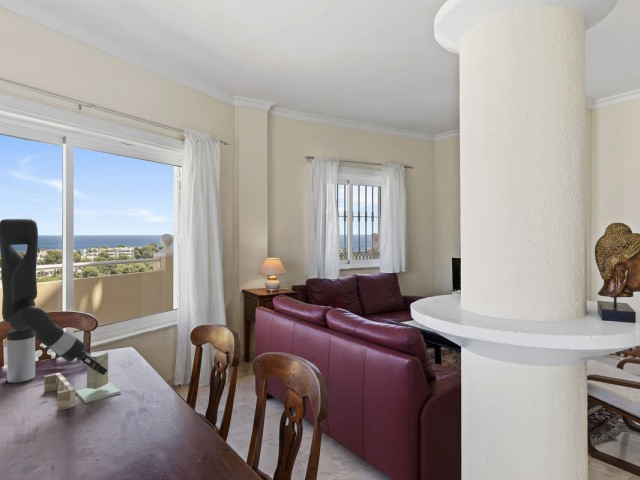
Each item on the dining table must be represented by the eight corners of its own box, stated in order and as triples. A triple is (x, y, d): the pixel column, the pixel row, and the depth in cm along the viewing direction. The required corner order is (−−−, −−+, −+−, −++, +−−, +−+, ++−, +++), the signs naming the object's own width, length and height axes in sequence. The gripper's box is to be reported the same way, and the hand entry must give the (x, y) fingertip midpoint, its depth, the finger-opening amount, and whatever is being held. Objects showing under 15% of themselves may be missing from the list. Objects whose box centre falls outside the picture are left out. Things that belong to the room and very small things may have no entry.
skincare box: (96, 389, 144) (96, 357, 144) (85, 388, 145) (86, 356, 145) (108, 383, 150) (108, 352, 150) (98, 382, 151) (98, 351, 151)
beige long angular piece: (44, 391, 149) (44, 375, 149) (59, 387, 153) (59, 372, 153) (58, 410, 134) (58, 393, 134) (75, 406, 137) (75, 389, 137)
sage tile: (75, 393, 148) (75, 390, 148) (109, 384, 157) (109, 382, 156) (84, 403, 140) (84, 400, 140) (120, 393, 148) (120, 390, 148)
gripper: (80, 340, 137) (116, 366, 146) (69, 333, 147) (103, 357, 156) (62, 359, 133) (100, 384, 142) (53, 350, 144) (88, 374, 152)
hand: (102, 370), depth 149 cm, fingers closed on skincare box, 6 cm apart
